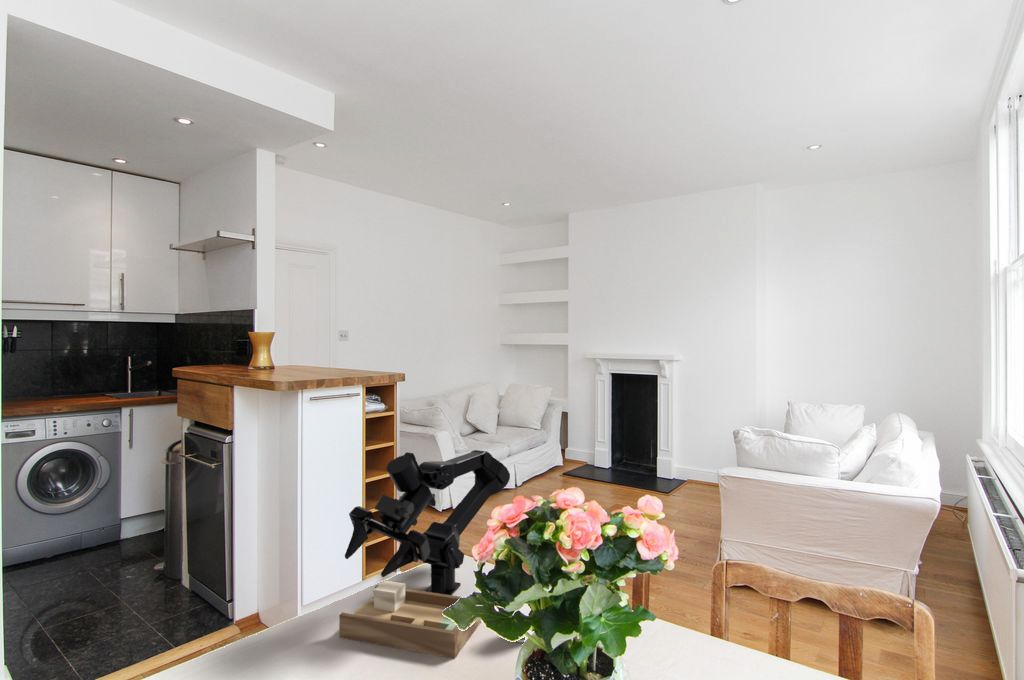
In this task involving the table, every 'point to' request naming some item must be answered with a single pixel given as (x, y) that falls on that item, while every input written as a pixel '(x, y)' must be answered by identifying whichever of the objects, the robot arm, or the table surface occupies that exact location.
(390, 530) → the robot arm
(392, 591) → the block
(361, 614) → the box
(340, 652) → the table surface
